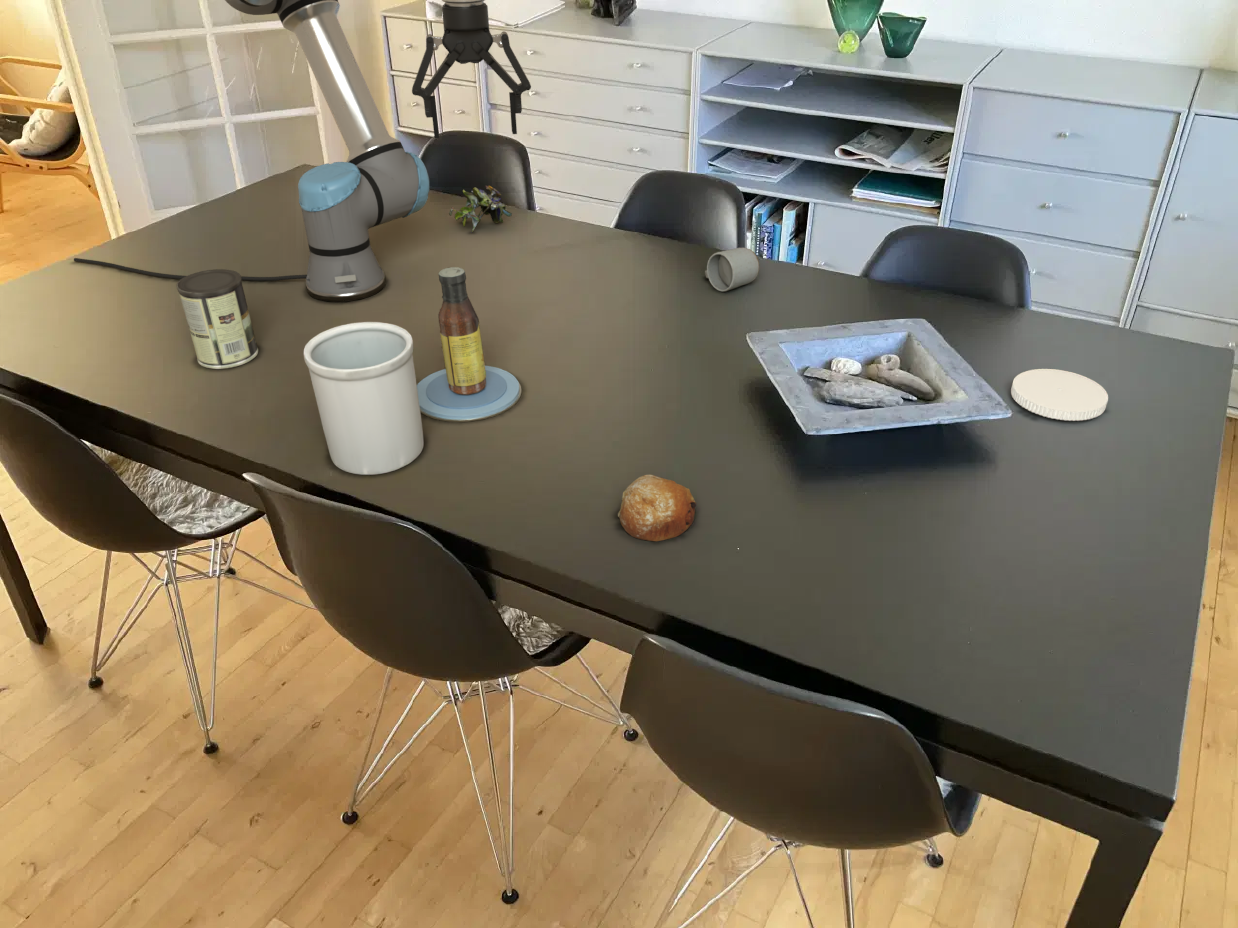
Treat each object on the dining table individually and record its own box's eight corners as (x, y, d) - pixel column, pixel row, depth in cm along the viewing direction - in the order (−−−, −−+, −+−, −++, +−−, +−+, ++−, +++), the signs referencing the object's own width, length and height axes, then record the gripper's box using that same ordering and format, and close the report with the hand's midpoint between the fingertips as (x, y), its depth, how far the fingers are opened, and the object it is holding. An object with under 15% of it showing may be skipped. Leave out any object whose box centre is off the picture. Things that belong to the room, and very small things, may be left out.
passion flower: (496, 246, 231) (523, 207, 224) (468, 252, 222) (495, 212, 216) (465, 212, 232) (490, 172, 226) (436, 217, 223) (461, 176, 217)
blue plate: (390, 409, 157) (389, 402, 156) (449, 361, 170) (448, 355, 170) (487, 431, 151) (487, 424, 150) (540, 380, 164) (539, 373, 164)
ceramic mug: (761, 285, 196) (763, 248, 192) (732, 296, 192) (733, 259, 188) (723, 271, 203) (724, 235, 199) (694, 281, 199) (695, 244, 195)
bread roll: (629, 520, 137) (603, 478, 133) (696, 490, 136) (672, 447, 131) (636, 565, 129) (609, 522, 125) (707, 534, 127) (682, 489, 123)
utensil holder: (378, 489, 138) (359, 379, 128) (303, 459, 145) (280, 352, 135) (447, 441, 148) (434, 336, 139) (374, 416, 155) (357, 313, 145)
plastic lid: (1059, 435, 149) (1063, 420, 147) (990, 394, 159) (993, 381, 158) (1123, 412, 154) (1128, 398, 152) (1053, 375, 164) (1056, 361, 163)
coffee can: (226, 338, 179) (208, 265, 171) (271, 349, 175) (254, 274, 167) (183, 362, 171) (162, 286, 163) (229, 374, 167) (209, 296, 160)
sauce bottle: (494, 384, 161) (484, 269, 150) (470, 400, 156) (457, 283, 145) (463, 374, 164) (451, 260, 153) (438, 390, 159) (424, 274, 148)
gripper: (386, 9, 158) (403, 143, 170) (541, 3, 161) (548, 136, 173) (388, 1, 164) (404, 132, 176) (538, -3, 167) (544, 125, 179)
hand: (475, 134), depth 174 cm, fingers open, 13 cm apart
